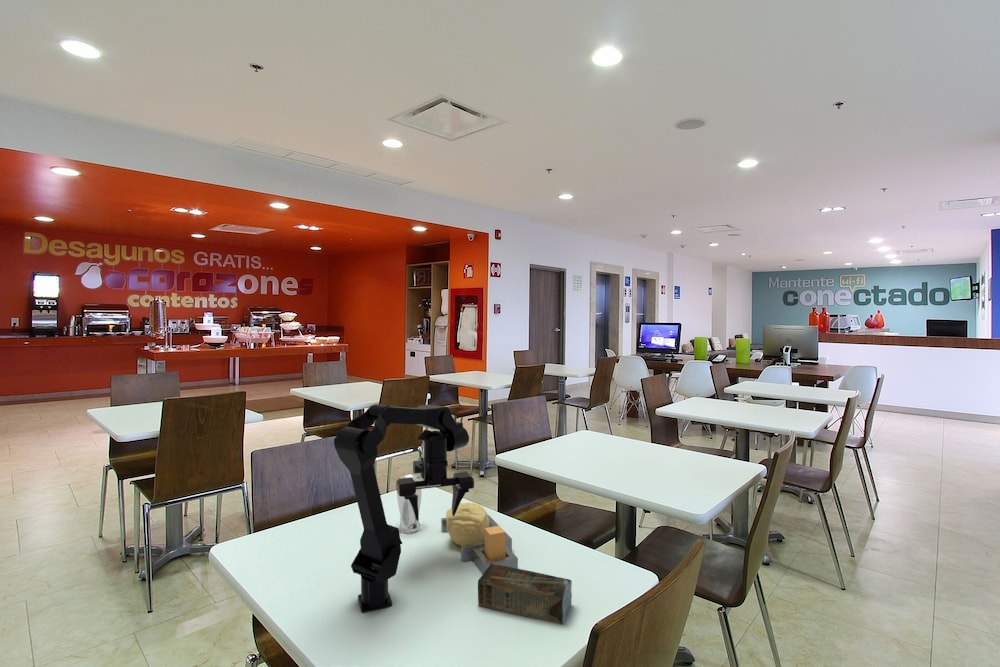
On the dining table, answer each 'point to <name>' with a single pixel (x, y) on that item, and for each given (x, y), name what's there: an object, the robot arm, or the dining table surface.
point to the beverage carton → (525, 593)
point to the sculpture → (467, 524)
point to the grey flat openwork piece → (478, 551)
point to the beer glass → (408, 510)
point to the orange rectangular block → (495, 543)
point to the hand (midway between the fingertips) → (435, 517)
